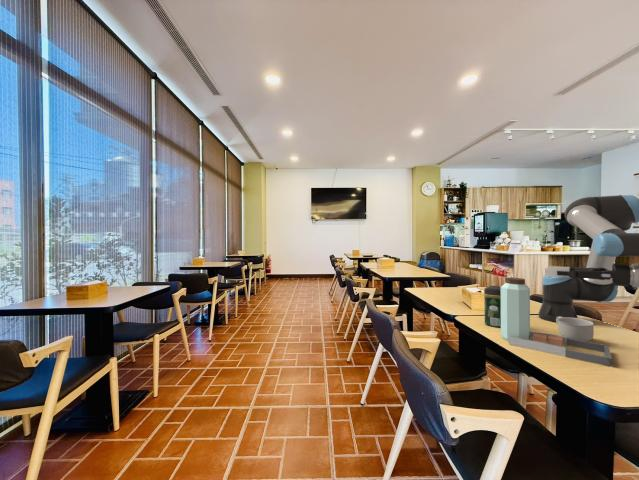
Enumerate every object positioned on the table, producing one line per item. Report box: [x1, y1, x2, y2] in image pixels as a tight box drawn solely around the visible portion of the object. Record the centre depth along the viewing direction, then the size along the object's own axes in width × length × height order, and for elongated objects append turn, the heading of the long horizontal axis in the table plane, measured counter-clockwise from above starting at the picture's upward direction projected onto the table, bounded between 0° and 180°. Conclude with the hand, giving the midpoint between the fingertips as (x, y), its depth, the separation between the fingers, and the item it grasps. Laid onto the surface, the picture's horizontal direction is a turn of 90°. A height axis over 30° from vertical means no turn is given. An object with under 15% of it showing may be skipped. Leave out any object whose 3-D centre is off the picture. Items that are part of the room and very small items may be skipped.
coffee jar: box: [483, 285, 501, 328], centre depth 133 cm, size 10×8×19 cm
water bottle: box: [500, 277, 531, 342], centre depth 112 cm, size 10×10×25 cm
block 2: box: [547, 335, 564, 346], centre depth 104 cm, size 4×4×4 cm
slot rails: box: [508, 330, 568, 357], centre depth 107 cm, size 16×15×3 cm
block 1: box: [532, 333, 548, 343], centre depth 107 cm, size 4×4×4 cm
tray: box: [564, 338, 613, 367], centre depth 98 cm, size 11×16×2 cm
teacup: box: [555, 317, 595, 342], centre depth 113 cm, size 14×11×8 cm
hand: (546, 270), depth 105 cm, fingers open, 13 cm apart
